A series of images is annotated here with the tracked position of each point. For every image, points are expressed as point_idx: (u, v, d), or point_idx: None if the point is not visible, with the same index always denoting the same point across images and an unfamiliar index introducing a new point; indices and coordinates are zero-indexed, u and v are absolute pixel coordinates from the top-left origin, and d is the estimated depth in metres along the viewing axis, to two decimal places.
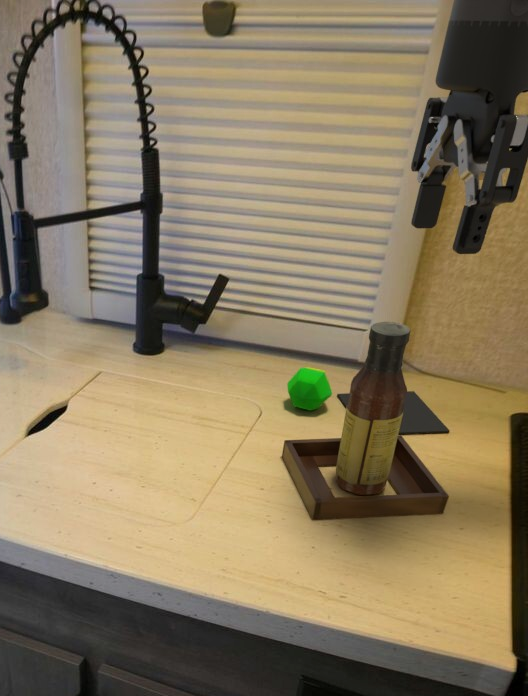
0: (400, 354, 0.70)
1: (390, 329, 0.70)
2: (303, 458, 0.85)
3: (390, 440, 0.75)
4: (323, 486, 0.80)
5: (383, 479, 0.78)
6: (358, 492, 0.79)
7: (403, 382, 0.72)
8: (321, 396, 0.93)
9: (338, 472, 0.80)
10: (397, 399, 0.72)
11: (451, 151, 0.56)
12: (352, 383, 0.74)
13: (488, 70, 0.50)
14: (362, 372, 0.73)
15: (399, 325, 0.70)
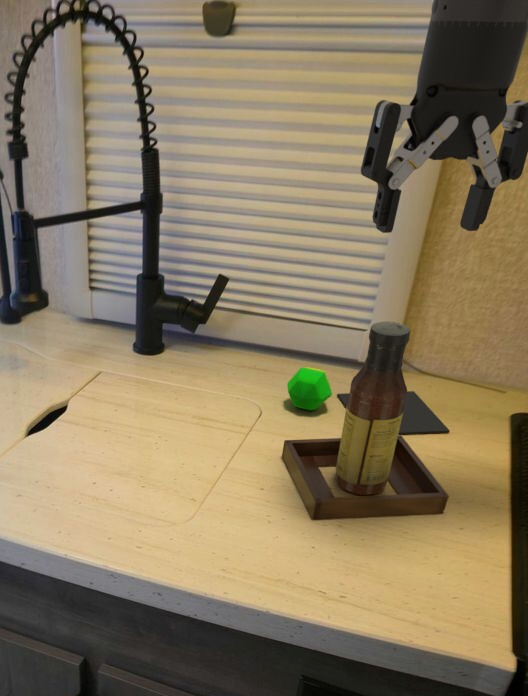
0: (400, 354, 0.70)
1: (390, 329, 0.70)
2: (303, 458, 0.85)
3: (390, 440, 0.75)
4: (323, 486, 0.80)
5: (383, 479, 0.78)
6: (358, 492, 0.79)
7: (403, 382, 0.72)
8: (321, 396, 0.93)
9: (338, 472, 0.80)
10: (397, 399, 0.72)
11: None
12: (352, 383, 0.74)
13: (420, 64, 0.56)
14: (362, 372, 0.73)
15: (399, 325, 0.70)
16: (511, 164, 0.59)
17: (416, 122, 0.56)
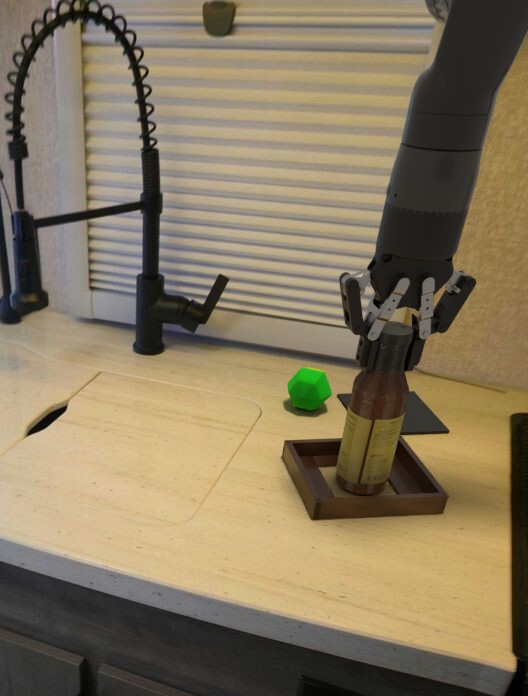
0: (403, 354, 0.70)
1: (394, 328, 0.70)
2: (303, 458, 0.85)
3: (391, 440, 0.75)
4: (323, 486, 0.80)
5: (383, 479, 0.78)
6: (359, 492, 0.79)
7: (405, 382, 0.72)
8: (321, 396, 0.93)
9: (338, 471, 0.80)
10: (399, 399, 0.72)
11: None
12: (354, 382, 0.74)
13: None
14: None
15: (402, 325, 0.70)
16: (442, 319, 0.69)
17: (374, 280, 0.66)
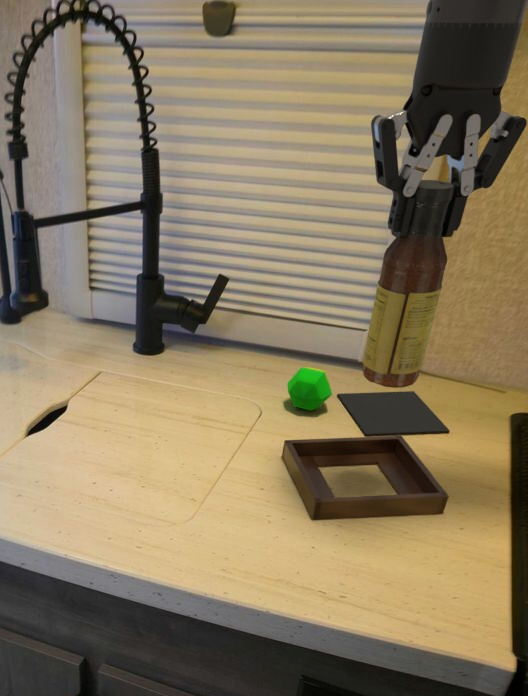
0: (442, 214, 0.63)
1: (432, 184, 0.62)
2: (303, 458, 0.85)
3: (426, 319, 0.67)
4: (323, 486, 0.80)
5: (416, 368, 0.71)
6: (388, 383, 0.71)
7: (443, 249, 0.65)
8: (321, 396, 0.93)
9: (366, 363, 0.73)
10: (436, 268, 0.64)
11: None
12: (385, 254, 0.67)
13: (416, 64, 0.58)
14: (397, 240, 0.66)
15: (441, 182, 0.63)
16: (486, 170, 0.61)
17: (411, 120, 0.58)
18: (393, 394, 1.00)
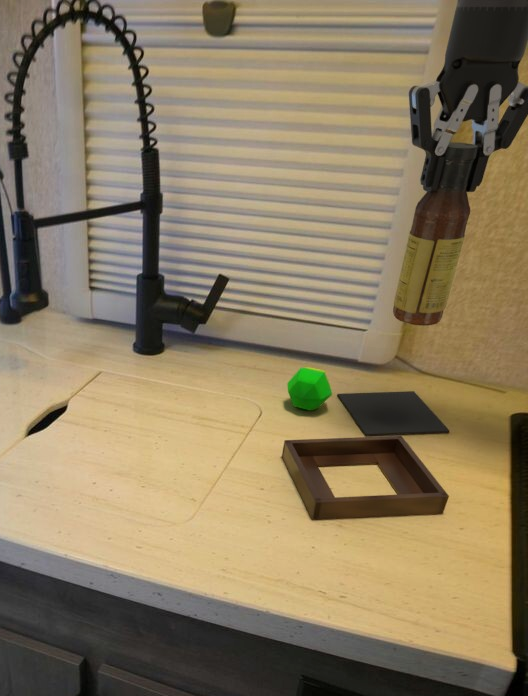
0: (467, 170, 0.74)
1: (459, 145, 0.73)
2: (303, 458, 0.85)
3: (451, 264, 0.79)
4: (323, 486, 0.80)
5: (441, 308, 0.82)
6: (417, 321, 0.83)
7: (467, 202, 0.76)
8: (321, 396, 0.93)
9: (397, 304, 0.84)
10: (461, 218, 0.76)
11: None
12: (417, 207, 0.78)
13: (448, 42, 0.69)
14: (428, 194, 0.77)
15: (466, 143, 0.74)
16: (505, 133, 0.72)
17: (443, 90, 0.69)
18: (393, 394, 1.00)
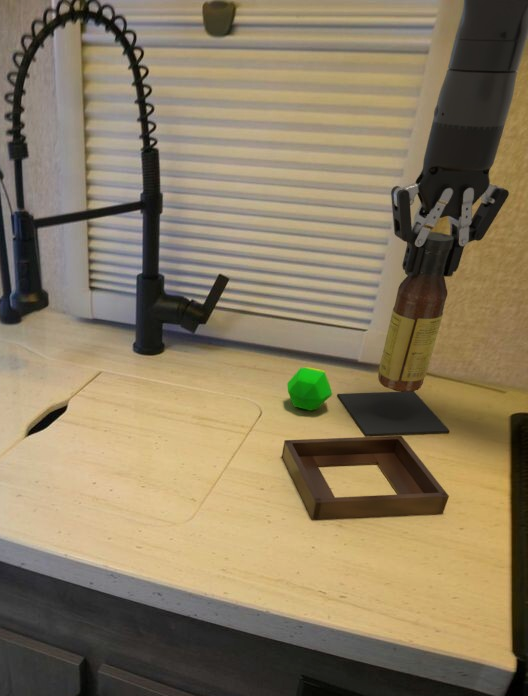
0: (444, 259, 0.82)
1: (436, 236, 0.81)
2: (303, 458, 0.85)
3: (430, 339, 0.86)
4: (323, 486, 0.80)
5: (421, 377, 0.90)
6: (399, 388, 0.90)
7: (445, 286, 0.84)
8: (321, 396, 0.93)
9: (381, 371, 0.91)
10: (439, 300, 0.84)
11: None
12: (399, 288, 0.86)
13: (426, 149, 0.77)
14: (409, 277, 0.85)
15: (444, 234, 0.82)
16: (478, 227, 0.80)
17: (422, 191, 0.77)
18: (393, 394, 1.00)
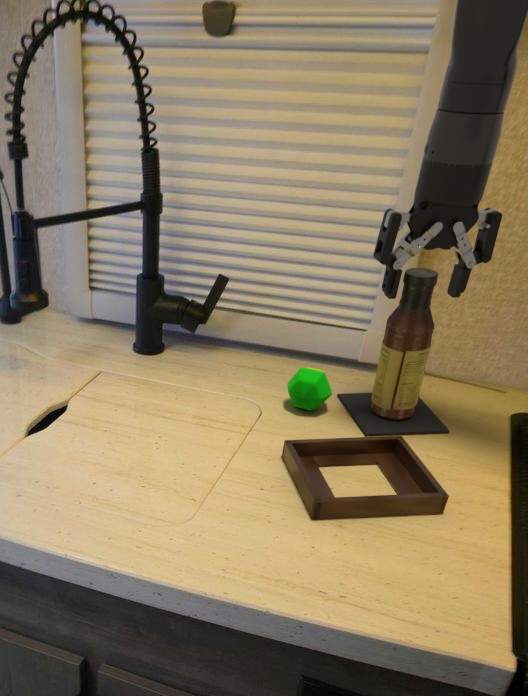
0: (430, 294, 0.84)
1: (421, 273, 0.84)
2: (303, 458, 0.85)
3: (419, 370, 0.89)
4: (323, 486, 0.80)
5: (412, 405, 0.92)
6: (391, 417, 0.93)
7: (431, 319, 0.86)
8: (321, 396, 0.93)
9: (373, 400, 0.94)
10: (426, 333, 0.86)
11: None
12: (388, 321, 0.89)
13: None
14: (396, 311, 0.87)
15: (429, 270, 0.84)
16: (483, 252, 0.82)
17: (413, 225, 0.79)
18: None
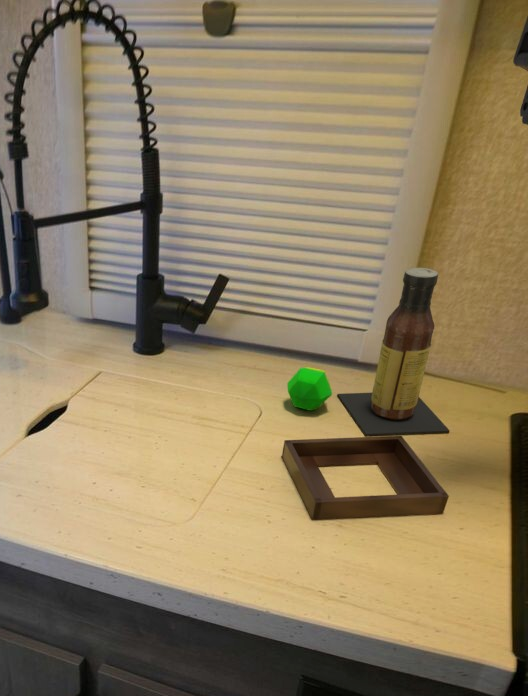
0: (430, 294, 0.84)
1: (421, 273, 0.84)
2: (303, 458, 0.85)
3: (419, 370, 0.89)
4: (323, 486, 0.80)
5: (412, 405, 0.92)
6: (391, 417, 0.93)
7: (431, 319, 0.86)
8: (321, 396, 0.93)
9: (373, 400, 0.94)
10: (426, 333, 0.86)
11: None
12: (388, 321, 0.89)
13: None
14: (396, 311, 0.87)
15: (428, 270, 0.84)
16: None
17: None
18: None
